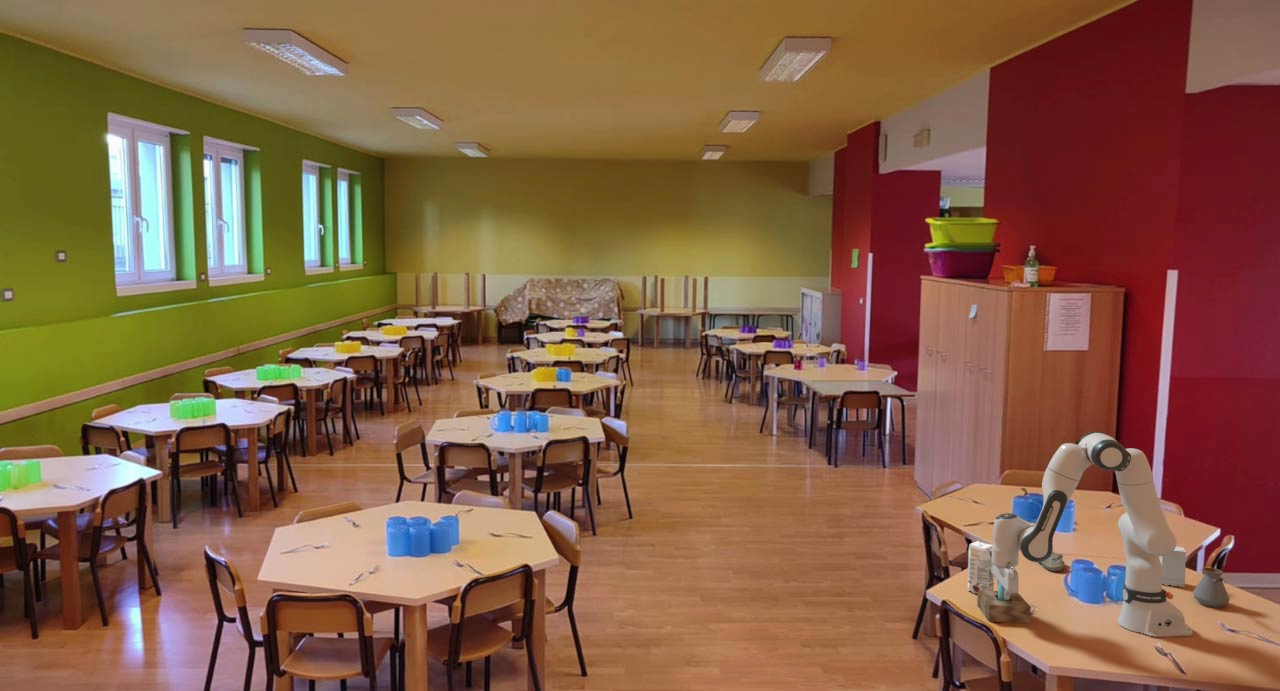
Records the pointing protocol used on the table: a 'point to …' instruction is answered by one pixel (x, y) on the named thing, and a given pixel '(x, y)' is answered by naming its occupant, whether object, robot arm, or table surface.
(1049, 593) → the table surface
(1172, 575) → the skincare box
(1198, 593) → the coffee pot
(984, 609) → the socket block
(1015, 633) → the table surface
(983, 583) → the juice carton
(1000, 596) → the peg
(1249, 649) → the table surface
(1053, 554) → the long grey stone
